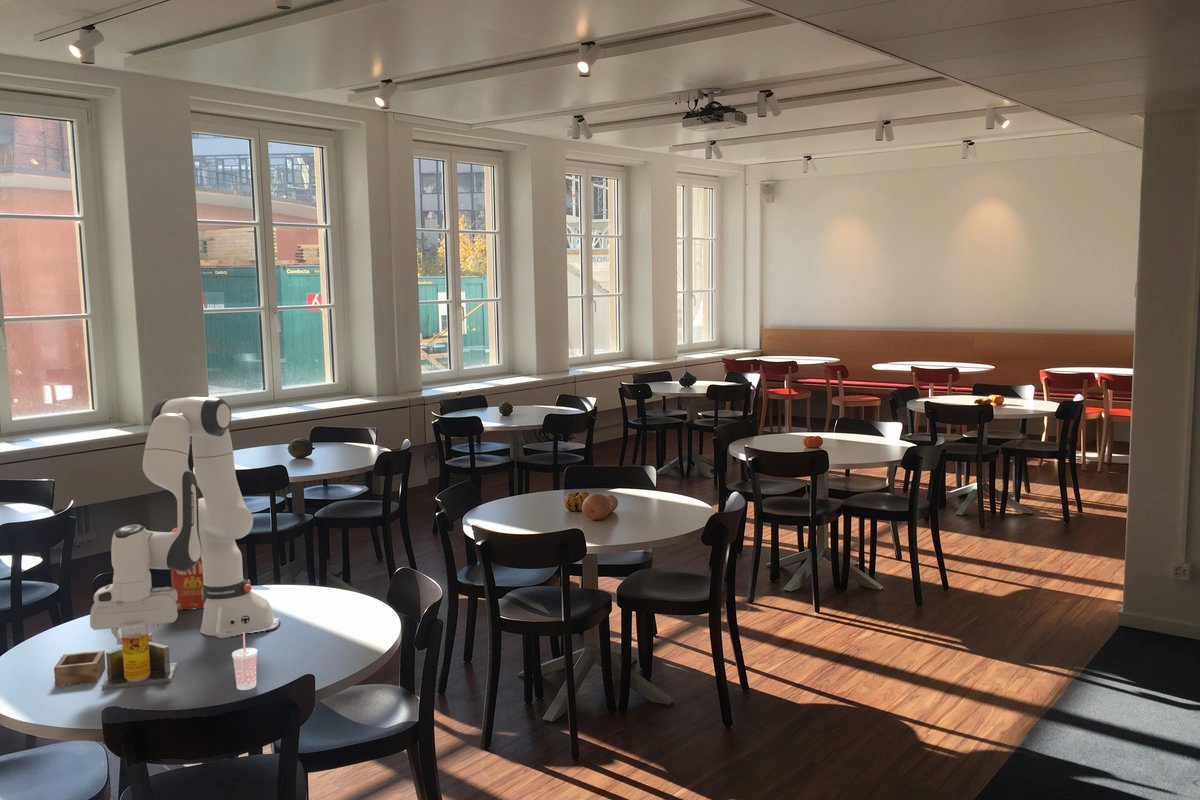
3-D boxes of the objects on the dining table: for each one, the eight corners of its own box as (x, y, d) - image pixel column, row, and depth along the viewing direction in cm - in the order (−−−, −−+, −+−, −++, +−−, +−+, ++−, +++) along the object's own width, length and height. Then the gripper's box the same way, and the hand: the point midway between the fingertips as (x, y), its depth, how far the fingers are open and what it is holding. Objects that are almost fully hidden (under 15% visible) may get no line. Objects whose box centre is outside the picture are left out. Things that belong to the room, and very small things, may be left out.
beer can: (125, 684, 247) (121, 626, 245) (123, 676, 252) (120, 620, 250) (151, 679, 250) (148, 622, 248) (149, 671, 255) (146, 616, 253)
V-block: (176, 665, 262) (175, 637, 261) (170, 681, 251) (168, 651, 250) (111, 673, 257) (109, 643, 256) (102, 689, 246) (99, 659, 245)
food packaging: (171, 611, 308) (166, 533, 306) (178, 602, 317) (173, 526, 315) (216, 608, 311) (211, 531, 308) (221, 599, 320) (217, 524, 317)
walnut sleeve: (105, 668, 261) (104, 650, 260) (97, 682, 251) (96, 663, 251) (64, 672, 258) (63, 654, 257) (55, 686, 249) (54, 667, 248)
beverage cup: (262, 681, 250) (259, 628, 249) (255, 690, 244) (252, 636, 243) (238, 682, 250) (235, 629, 248) (230, 691, 244) (227, 637, 242)
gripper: (178, 582, 255) (181, 633, 257) (92, 589, 250) (95, 642, 251) (175, 589, 249) (178, 641, 251) (86, 596, 244) (90, 650, 245)
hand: (136, 642), depth 251 cm, fingers closed on beer can, 6 cm apart
